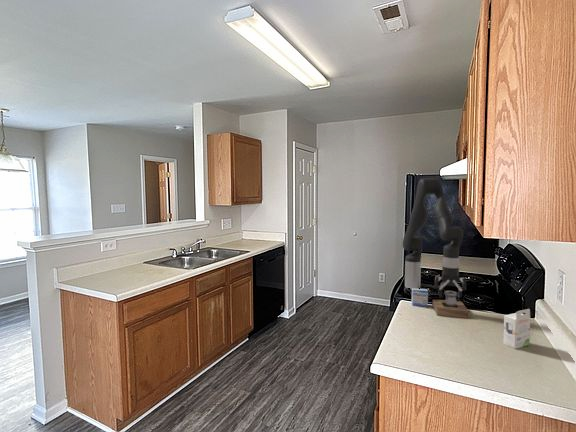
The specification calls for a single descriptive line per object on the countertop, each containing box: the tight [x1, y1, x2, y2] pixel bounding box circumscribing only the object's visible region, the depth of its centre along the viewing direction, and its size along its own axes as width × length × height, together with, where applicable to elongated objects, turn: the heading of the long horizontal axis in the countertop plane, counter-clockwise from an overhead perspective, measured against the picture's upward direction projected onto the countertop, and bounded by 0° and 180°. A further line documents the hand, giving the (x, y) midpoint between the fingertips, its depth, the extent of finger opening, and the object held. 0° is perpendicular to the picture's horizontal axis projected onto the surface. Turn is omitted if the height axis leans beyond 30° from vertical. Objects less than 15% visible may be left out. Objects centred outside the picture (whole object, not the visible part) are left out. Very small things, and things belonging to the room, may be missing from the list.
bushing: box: [444, 290, 458, 307], centre depth 162 cm, size 6×6×10 cm
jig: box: [431, 299, 470, 319], centre depth 162 cm, size 14×14×4 cm
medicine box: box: [411, 288, 429, 308], centre depth 173 cm, size 8×4×9 cm, turn 73°
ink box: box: [503, 308, 531, 350], centre depth 126 cm, size 9×5×15 cm, turn 111°
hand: (449, 297), depth 162 cm, fingers open, 8 cm apart
